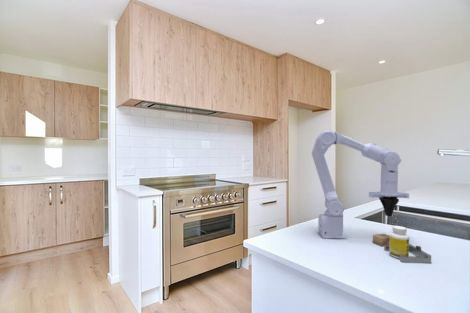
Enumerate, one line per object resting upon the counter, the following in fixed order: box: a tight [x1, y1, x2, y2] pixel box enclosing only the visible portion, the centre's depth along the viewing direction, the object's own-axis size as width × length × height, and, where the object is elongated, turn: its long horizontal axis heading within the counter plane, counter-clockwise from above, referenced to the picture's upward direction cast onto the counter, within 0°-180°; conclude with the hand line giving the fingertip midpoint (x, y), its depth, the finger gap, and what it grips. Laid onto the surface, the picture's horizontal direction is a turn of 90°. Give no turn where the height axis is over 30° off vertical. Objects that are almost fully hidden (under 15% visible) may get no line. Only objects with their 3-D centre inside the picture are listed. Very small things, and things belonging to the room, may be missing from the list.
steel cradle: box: [383, 243, 432, 264], centre depth 82 cm, size 9×10×3 cm
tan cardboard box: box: [372, 233, 390, 247], centre depth 93 cm, size 6×4×3 cm, turn 107°
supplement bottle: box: [388, 225, 410, 260], centre depth 82 cm, size 5×5×10 cm
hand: (388, 215), depth 96 cm, fingers closed
